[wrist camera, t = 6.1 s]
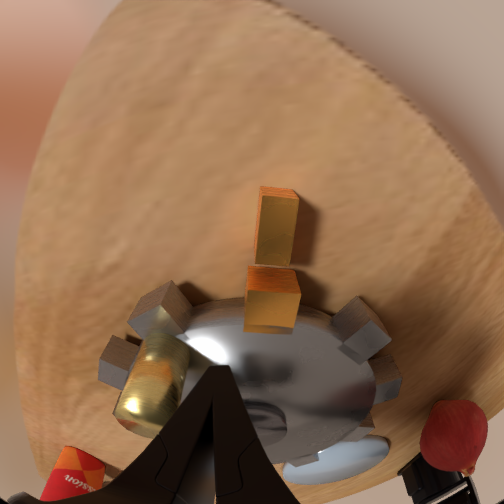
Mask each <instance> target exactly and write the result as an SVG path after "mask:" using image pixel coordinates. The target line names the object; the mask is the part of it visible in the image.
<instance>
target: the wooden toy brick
mask: <svg viewBox="0 0 504 504" xmlns="http://www.w3.org/2000/svg"><path fill="white" fill-rule="evenodd" d="M298 206H299V198H298V197H297V195H296V194H295V193H294V191H293V190H291V189H282V188H272V187H262V186H260V195H259V204H258V214H257V224H256V234H255V243H254V253H255V264H264V265H277V266H289V265H290V258H291V252H292V246H293V239H294V233H295V226H296V220H297V213H298Z"/></svg>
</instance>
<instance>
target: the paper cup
mask: <svg viewBox="0 0 504 504" xmlns="http://www.w3.org/2000/svg"><path fill="white" fill-rule="evenodd" d="M104 473H105V465H104V464H103V463H102V462H101V461H99V460H98V459H97V458H95V457H93V456H92V455H90V454H88V453H86V452H84V451H82V450H79V449H77V448H74V447H71V446H65V447H64V449H63V451H62V452H61V454H60V456H59V458H58V460H57V462H56V464H55V466H54V468H53V471H52V473H51V475H50V477H49V479H48V481H47V484H46V486H45V488H44V491H43V493H42V495H41V498H40V500H42V501H55V500H60V499H65V498H69V497H73V496H77V495H81V494H85V493H89V492H92V491H96V490H98V489H101V488H102V484H103V478H104Z"/></svg>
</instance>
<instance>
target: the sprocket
mask: <svg viewBox="0 0 504 504" xmlns="http://www.w3.org/2000/svg"><path fill="white" fill-rule="evenodd" d="M300 298H301V291H300V288H299V285H298V281H297V278H296V275H295V272H294V270H289V269H278V268H267V267H256V266H248V272H247V280H246V289H245V298H234V299H223V300H218V301H212V302H206V303H203V304H199V305H196V306H192V305H191V304H190V303H189V301H188V300H187V299H186V298H185V296H184V295H183V294H182V292H181V291H180V290H179V289H178V287H177V286H176V285H175V283H174V282H173V281H172V280H171V281H169V282H168V283H166V284H164V285H162V286H160V287H159V288H157V289H155V290H153V291H152V292H150V293H148V294H146V295H144V296H143V297H141V298H140V300H139V302H138V304H137V305H136V307H135V309H134V311H133V312H132V314H131V316H130V318H129V319H128V321H127V322H128V324H129V325H130V326H131V327H132V328H133V329H134V330H135V331H136V333H137V334H138V335H139V336H140V337H141V338H142V339H143V340H142V342H141V344H140V346H137V345H135V344H132V343H130V342H128V341H125V340H123V339H121V338H119V337H116V336H114V335H112V337H111V339H110V341H109V342H108V344H107V346H106V348H105V350H104V351H103V353H102V355H101V357H100V359H99V372H98V380H100V381H102V382H104V383H106V384H108V385H111V386H113V387H115V388H117V389H120V390H122V391H123V392H121V393H120V395H119V398H118V400H117V403H116V405H115V408H114V411H113V413H112V414H113V415H114V416H115V417H116V419H117V421H118V422H119V423H120V424H121V425H122V426H124V427H125V428H126V429H127V430H129V431H131V432H133V433H135V434H138V435H140V436H143V437H147V438H151V439H154V438H155V436H156V435H157V434H159V431H160V430H161V429H162V428H163V426H164V425H165V424H166V422H167V421H168V420H169V419H170V417H171V416H172V415H173V413H174V412H175V411H176V409H177V408H178V407H179V406H180V404H181V403H182V402H183V400H184V399H185V398H186V396H187V395H188V394H189V392H190V391H191V390H192V388H193V387H194V386H195V384H196V383H197V382H198V380H199V379H200V378H201V376H202V375H203V374H204V372H205V371H206V370H207V368H208V367H209V366H210V365H229V366H230V368H231V370H232V373H233V376H234V378H235V381H236V383H237V386H238V389H239V391H240V394H241V396H242V399H243V401H244V404H245V406H246V409H247V411H248V414H249V416H250V418H251V421H252V423H253V426H254V428H255V430H256V433H257V435H258V438H259V439H260V442H261V444H262V446H263V448H264V450H265V452H266V454H267V456H268V458H269V460H270V462H271V463H272V464H278V463H284V462H288V463H289V464H291V465H292V466H294V467H299V466H303V465H306V464H310V463H313V462H316V461H319V457H318V452H320V451H323V450H325V449H327V448H329V447H331V446H333V445H335V444H336V443H338V442H339V441H345V442H358V441H359V440H360V439H362V438H363V437H364V436H366V435H367V434H368V433H369V432H371V431H372V430H373V429H374V428H375V426H374V423H373V420H372V417H371V414H370V410H371V408H372V406H373V405H375V404H378V403H381V402H384V401H387V400H390V399H393V398H396V397H397V396H398V393H399V389H400V385H401V381H402V375H401V373H400V371H399V369H398V368H397V366H396V364H395V362H394V360H393V358H392V356H391V354H389V355H386V356H383V357H379V358H376V359H373V360H369V361H368V359H369V358H370V357H372V356H373V355H374V354H375V353H377V352H378V351H379V350H380V349H382V348H383V347H384V346H385V345H387V344H388V343H389V342H390V341H392V339H391V337H390V336H389V334H388V332H387V330H386V329H385V327H384V325H383V324H382V322H381V320H380V319H379V317H378V316H377V315H376V314H375V313H374V312H373V311H372V310H371V309H370V308H369V307H368V306H367V305H366V304H365V303H364V302H363V301H362V300H361V299H360V298H359V297H358V296H356V297H355V298H354V299H352V300H351V301H350V302H349V303H348V304H347V305H346V306H344V307H343V308H342V309H341V310H340V311H339V312H337V313H336V314H335V315H334V316H333V317H331V316H329V315H327V314H325V313H324V312H322V311H319V310H316V309H314V308H311V307H308V306H306V305H302V304H299V302H300Z"/></svg>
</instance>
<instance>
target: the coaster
mask: <svg viewBox="0 0 504 504" xmlns="http://www.w3.org/2000/svg"><path fill="white" fill-rule="evenodd" d="M388 453H389V447H388V444H387V441H386V440H385V438H383V437H380V436H375V435H366V436H364V437H363V438H362V439H360V440H359V441H358V442H345V441H339V442H338V443H336V444H335V445H333V446H331V447H329V448H327V449H325V450H323V451H320V452H318V457H319V461H316V462H313V463H310V464H306V465H303V466H299V467H294V466H292V465H291V464H289V463H288V462H285V463H284V465H283V477H284V479H285V480H287V481H289V482H291V483H295V484H303V485H316V484H325V483H331V482H336V481H340V480H344V479H347V478H350V477H353V476H356V475H358V474H361V473H363V472H365V471H367V470H369V469H371V468H372V467H374V466H376V465H377V464H378V463H380V462H381V461H382V460H383V459H384V458H385V457H386V456H387V454H388Z"/></svg>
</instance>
